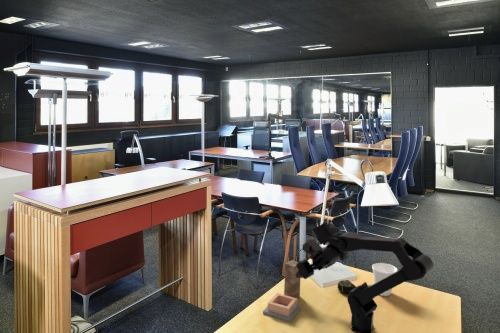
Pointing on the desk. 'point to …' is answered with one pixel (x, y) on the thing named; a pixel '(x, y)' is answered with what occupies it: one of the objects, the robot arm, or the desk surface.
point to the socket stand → (282, 307)
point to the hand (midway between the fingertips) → (303, 272)
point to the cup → (383, 273)
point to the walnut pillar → (291, 280)
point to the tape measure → (345, 286)
